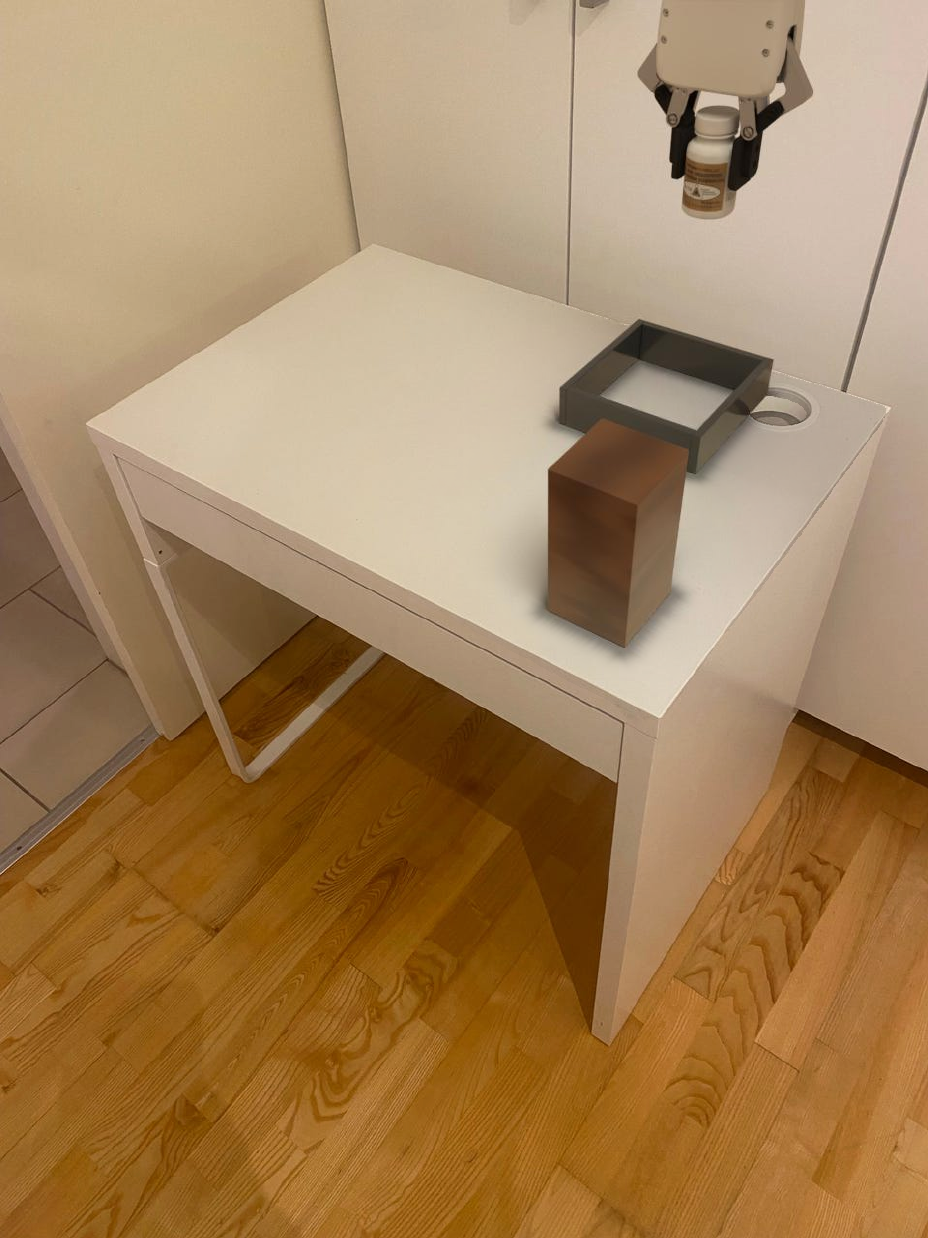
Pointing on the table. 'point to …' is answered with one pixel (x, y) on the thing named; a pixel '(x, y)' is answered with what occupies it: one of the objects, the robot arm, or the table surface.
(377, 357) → the table surface
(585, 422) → the tray
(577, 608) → the display block
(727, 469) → the table surface
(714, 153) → the pill bottle
